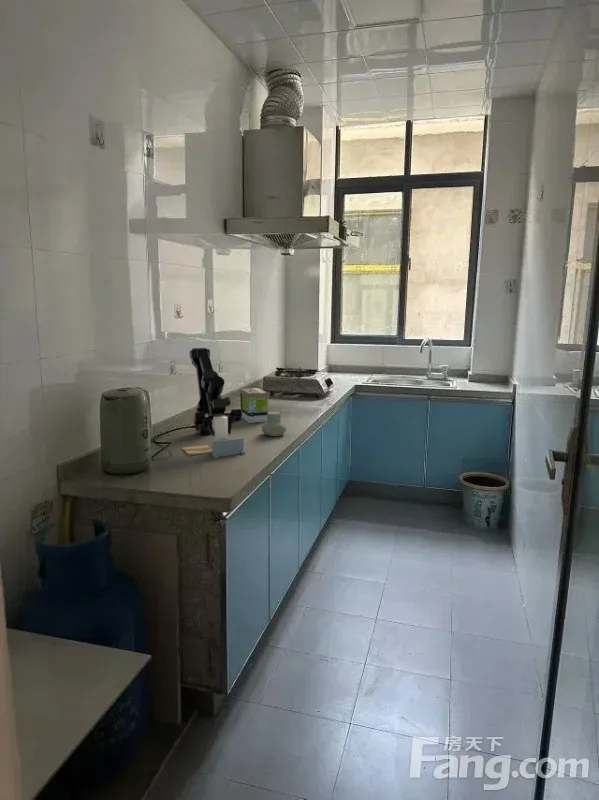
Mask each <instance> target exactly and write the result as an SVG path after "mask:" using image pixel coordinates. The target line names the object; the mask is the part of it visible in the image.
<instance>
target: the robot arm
mask: <svg viewBox="0 0 599 800" xmlns="http://www.w3.org/2000/svg"><path fill="white" fill-rule="evenodd" d="M189 359H191V360H190V361H191V364H192V366H194V368H195V372H196V378H197V385H198V394H199V400H198V402H197V404H196V408H195V413H194V416H193V424H194V425H195V426H197V425H198V426H199V430H197V431H196V432H197V433H198V434H199V435H200V436H205V435H211V437H214V426H213V417H214V416H219V415H224V416H227V417H228V436H230V435H231V433H232V432H231V431H232V427H233V424H235V422H240V421H241V419H242V410H241V408H233V409H231V411H230V412H226V411H227V407H230V405H231V398H230V396H228V397H224V398H222V393H223V390H224V386H225V379H224V378H223V377H221V376H219V374H218V372H217V371H215V370H214V368H213V364H212V361H211V350H210V349H209V348H206V347H192V348H191V349H190V350H189ZM225 412H226V413H225Z"/></svg>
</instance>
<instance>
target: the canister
mask: <svg viewBox="0 0 599 800" xmlns="http://www.w3.org/2000/svg"><path fill="white" fill-rule="evenodd" d="M212 425H213V431H214V436H213V441H220V440H228V439H229V433H228V417H227V416H224V415H219V416H214V417H213V420H212Z"/></svg>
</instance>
